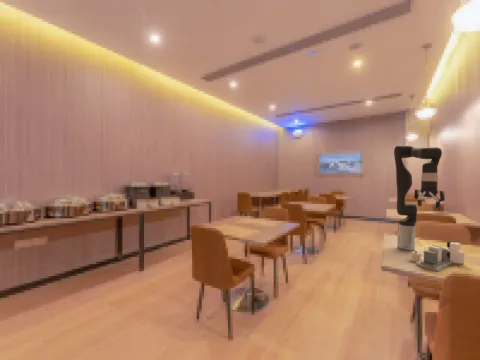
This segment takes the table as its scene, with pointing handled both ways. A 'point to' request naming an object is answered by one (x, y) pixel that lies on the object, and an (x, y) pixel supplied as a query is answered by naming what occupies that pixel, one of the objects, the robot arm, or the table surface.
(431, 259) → the board
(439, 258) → the block
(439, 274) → the table surface
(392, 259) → the table surface
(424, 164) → the robot arm
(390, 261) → the table surface
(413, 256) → the block
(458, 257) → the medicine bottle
